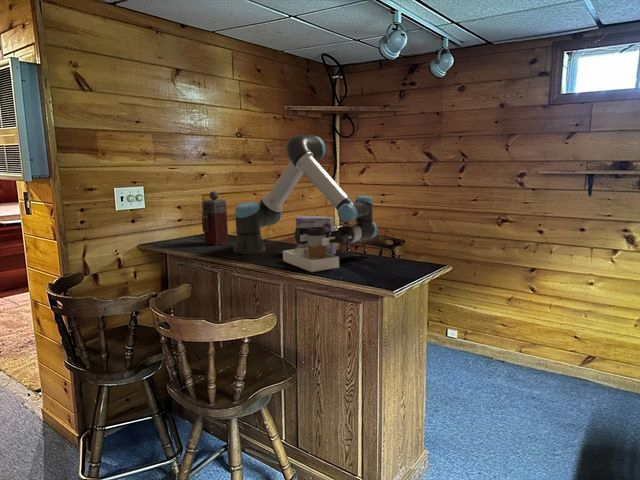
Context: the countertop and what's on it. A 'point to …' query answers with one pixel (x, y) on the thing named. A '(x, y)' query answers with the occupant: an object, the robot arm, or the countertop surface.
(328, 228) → the cake pan box
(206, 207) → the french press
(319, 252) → the coffee cup
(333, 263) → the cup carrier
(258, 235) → the robot arm
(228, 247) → the countertop surface
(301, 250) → the metal tin
